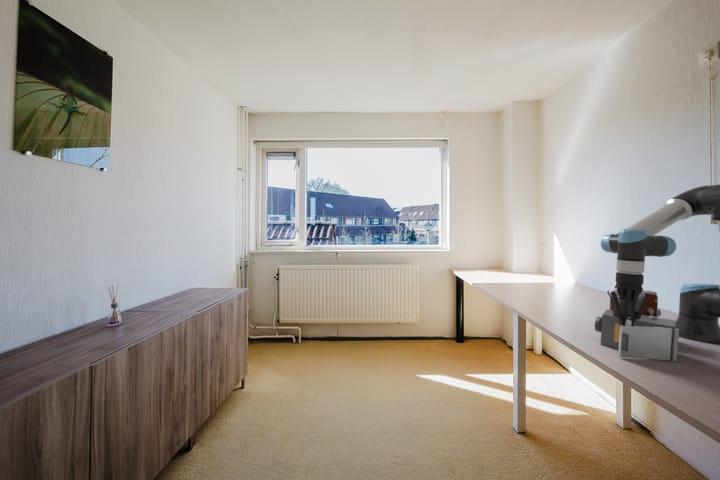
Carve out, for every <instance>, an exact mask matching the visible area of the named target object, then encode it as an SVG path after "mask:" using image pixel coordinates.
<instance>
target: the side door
mask: <svg viewBox="0 0 720 480" xmlns="http://www.w3.org/2000/svg"><path fill="white" fill-rule="evenodd" d="M671 336H672V328H665V327H645V326H626V325H620V333H619V349H618V350H617V351H618V352H617V353H618V354H617V356H618V358H619V357H620V358H626V359H627V358H628V359H644V360H645V359H646V360H661V361H669V360H670V351H671Z"/></svg>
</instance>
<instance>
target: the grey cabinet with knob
mask: <svg viewBox="0 0 720 480" xmlns="http://www.w3.org/2000/svg"><path fill="white" fill-rule="evenodd" d="M675 322H676V320H674V319H669V318H664V317H663V318H662V317H654V316H645V315H641V318H640V319H636V322H634V323H633V326H645V327H665V328H672V336H671V351H670V360H668V361H670V362H677V361H678V350H679V348H678V347H679V337H680V336H679V329H675ZM594 330H595V332H597V333H601V335H600V345H601V346H605V347H608V348H612V349H613V348H614V349H616V350H617V349H619V333H620V328H619V318H617V317H615V316H614V315H613V310H610V309H606V310H605V311H604V312H603V313H602V316H596V318H595V320H594Z"/></svg>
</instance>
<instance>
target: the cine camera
mask: <svg viewBox="0 0 720 480" xmlns="http://www.w3.org/2000/svg"><path fill="white" fill-rule="evenodd" d="M643 291H644V292H646V293H649V294H650V296H649V298H648V299H647V300H646V303H645V306H644V309H643V312H642V315H645V316H654V317H657V318H659V317H660V316H661V315H662V310H661V309H660V308H658V305H659V297H658V294H657V291H652V290H645V289H643ZM617 294H618V293H617ZM617 296H618V299H619V295H617ZM637 298H638V297H637ZM619 303H620V300H619ZM609 310H612V305H611V300H610V299H609Z"/></svg>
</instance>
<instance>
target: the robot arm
mask: <svg viewBox="0 0 720 480" xmlns="http://www.w3.org/2000/svg"><path fill="white" fill-rule="evenodd" d="M701 215H702V216H703V215H707V216H711V217H712V221H713V222H715V223H716V224H718V229H719V232H720V184H713V185H712V184H711V185H703V186H702V185H701V186H697V187H695V188H691V189H689V190H686V191H684V192H681V193H680V194H678V195H676V196H674V197H672V198H671V199H668V200H667V201H666V202H664V205H663V206H662V207H660V208H658V209H657V210H655V211H654V212H652V213H650V214H647V216H645V217H643V218H642V219H640V220H638V221H636V222H635V223H633V224H632V225H630V226H628V227H626V228H624V229H621V230H619V232H618V233H616V234H615V233H611V234H606V235H604V236H603V237H602V238H601V240H600V247H601V248H602V250H603V251H604V252H606V253H612V254H617V255H616V256H617V258H616V271H617V272H615V285H614V288H613V289H611V290H607V292H606V293H607V294H608V296H609V301H610V300H611V305H612V310H613V315H614V316H615V317H617V318H619V328H620V325H626V326H633V323H634V322H636V319H640V318H641V315H642V312H643V309H644V306H645V303H646V300H647V299H648V298H649V296H650V294H649V293H646V292H644V291H643V290H644V288H643V284H644V273H645V264H646V263H645V261H646V257H656V258H657V257H659V258H663V257H669V256H671V255H673V254H674V252H676V250H677V243H676V240H674V239H673V238H671V237H670V236H665V235H657V234H659V233H661V232H662V231H664V230H665V229H667V228H668V227H670V226H672V225H674V224H675V223H677V222H679V221H685V220H687V219H690V218H691V217H693V216H694V217H695V216H701ZM617 293H618V294H617ZM617 295H619V299H618V296H617ZM637 297H638V298H637ZM619 300H620V303H619ZM678 305H679V306H678V317H677V318H676V320H675V329H679V337H681V338H685V339H688V340H693V341H697V342H703V343H704V342H705V343H710V344H712V343H713V344H720V324H719V318H720V284H712V283H683V284H682V285H681V287H680V291H679V304H678Z"/></svg>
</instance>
